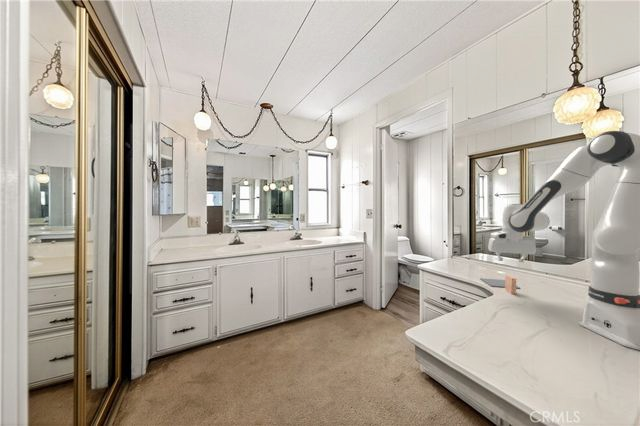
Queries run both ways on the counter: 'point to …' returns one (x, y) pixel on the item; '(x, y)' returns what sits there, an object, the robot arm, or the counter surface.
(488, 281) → the mat
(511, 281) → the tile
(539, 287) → the counter surface
